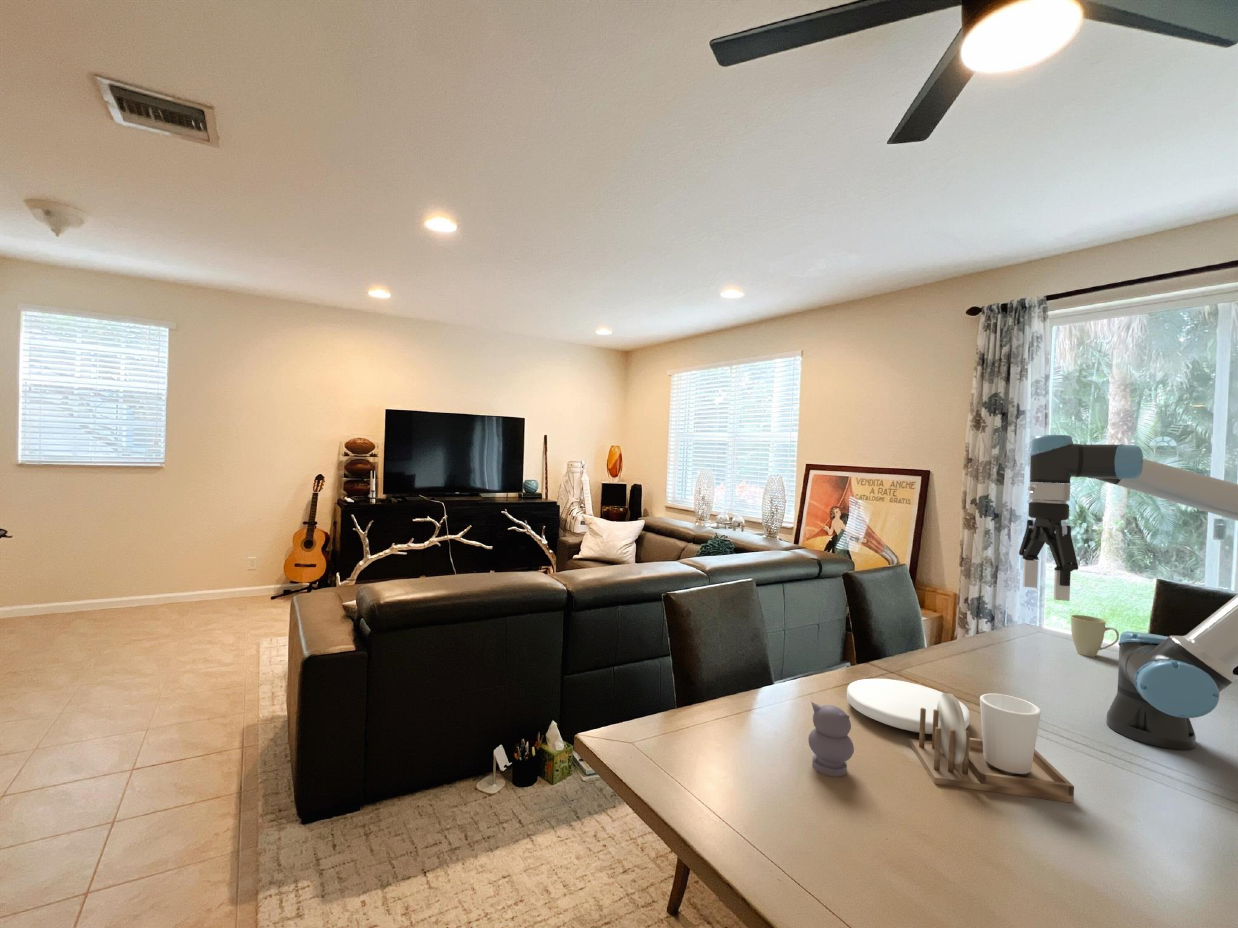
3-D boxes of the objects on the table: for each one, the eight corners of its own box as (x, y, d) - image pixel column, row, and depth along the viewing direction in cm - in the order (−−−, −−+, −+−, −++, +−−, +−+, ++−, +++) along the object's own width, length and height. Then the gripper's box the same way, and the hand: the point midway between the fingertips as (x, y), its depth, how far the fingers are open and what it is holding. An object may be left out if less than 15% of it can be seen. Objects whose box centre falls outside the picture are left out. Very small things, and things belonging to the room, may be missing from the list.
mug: (1081, 658, 185) (1083, 621, 185) (1063, 648, 195) (1064, 613, 195) (1119, 661, 183) (1121, 624, 183) (1099, 651, 193) (1100, 616, 193)
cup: (1035, 764, 113) (1038, 701, 113) (1040, 787, 105) (1043, 719, 105) (977, 749, 119) (979, 689, 119) (977, 770, 110) (979, 705, 110)
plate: (837, 669, 153) (945, 681, 148) (836, 694, 153) (945, 707, 147) (860, 700, 126) (993, 716, 121) (859, 730, 125) (993, 748, 120)
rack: (1029, 759, 118) (1032, 691, 118) (1073, 802, 103) (1076, 724, 103) (910, 744, 122) (912, 678, 122) (934, 783, 107) (937, 708, 107)
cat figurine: (859, 769, 112) (862, 708, 111) (842, 784, 106) (845, 720, 106) (818, 752, 118) (820, 694, 117) (800, 765, 112) (802, 705, 112)
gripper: (1005, 497, 145) (1002, 581, 145) (1060, 504, 120) (1056, 604, 120) (1038, 499, 143) (1035, 583, 143) (1101, 506, 119) (1097, 607, 119)
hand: (1044, 593), depth 132 cm, fingers open, 13 cm apart
